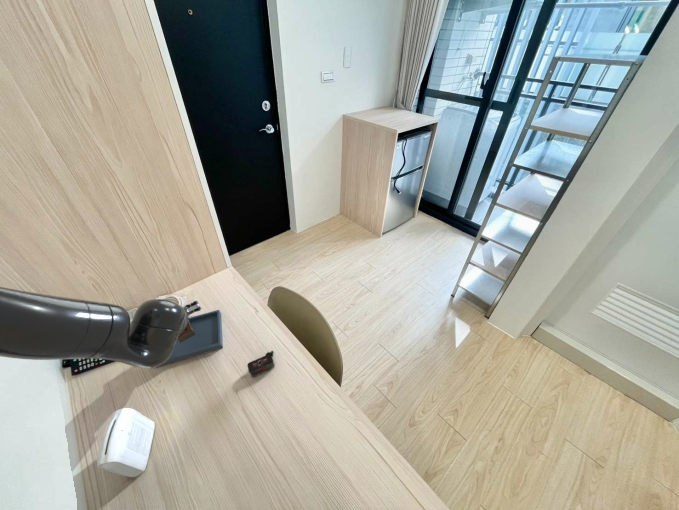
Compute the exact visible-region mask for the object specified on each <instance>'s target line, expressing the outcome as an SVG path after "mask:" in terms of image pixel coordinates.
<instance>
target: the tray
mask: <svg viewBox="0 0 679 510" xmlns="http://www.w3.org/2000/svg"><path fill="white" fill-rule="evenodd" d="M189 321H190V323H191V325H192V327H193V330H194V332H195V334H196V335H194V336H192V337H190V338H188V339H186V340H185V341H183V342H181V343H180V342H179V341H178V339H177V341H176V344H175V346H174V349H173V352H172V354H171V356H170V357H169V359H168V360H167V361H166V362H165V363H163V364H161V365H160V366H157V367H155V368H156V369H157V368H161V367H165V366H167V365H170V364H173V363H177V362H181V361H183V360H187V359H191V358H194V357H197V356H200V355H204V354H206V353H210V352H214V351H218V350H220V349H223V348H224V343H223V326H222V325H223V324H222V323H223V322H222V313H221V310H220V309H216V310H212V311H209V312H205V313H201V314H198V315H194V316H190V317H189Z"/></svg>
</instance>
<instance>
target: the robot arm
mask: <svg viewBox="0 0 679 510" xmlns="http://www.w3.org/2000/svg"><path fill="white" fill-rule="evenodd" d="M201 310H202V307H201V306H200V303H199V301H198V300H193V302H190V303H188V304H185V305H184V306H183V305H181V304H179V303H177V302H175V301H172V300H169V299H164V298H153V299H151V298H150V299H147V300H145V301H143V302H142V303H141V304H140V305H139V306H138V307H137V309H136V310H135V312H134V314H133V317H132V320H131V317H130V314H129V312H128V310H127V309H126V308H125V307H123V306H121V305H119V304H114V303H109V302H102V301H95V300H87V299H80V298H73V297H67V296H58V295H51V294H45V293H38V292H31V291H26V290H19V289H15V288H10V287H2V286H0V357H1V358H10V359H18V360H33V361H56V360H57V361H59V360H80V359H95V360H105V361H106V360H107V361H113V362H118V363H121V364H125V365H128V366H131V367H134V368H139V369H148V370H149V369H154V368H155V367H157V366H160V365H161V364H163V363H165V362H166V361H167V360H168V359H169V357H170V356H171V354H172V352H173V349H174V346H175V344H176V341H177V339H178V336H180V335H181V334H182V332H183V331H184V330H185V328H186V326H187V324H188V320H189V318H190V317H189V316H190V315H192V314H195V313H196V312H200V311H201ZM157 368H158V367H157Z"/></svg>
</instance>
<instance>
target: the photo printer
mask: <svg viewBox="0 0 679 510" xmlns="http://www.w3.org/2000/svg"><path fill="white" fill-rule="evenodd" d="M155 426H156V423H155V421H153V420H151V419H150V418H148V417H147V416H145V415H143V414H142V413H140V412H139V411H137V410H136V409H134V408H132V407H131V408H129V407H123V408H120V409H116V410H115V411H114V412H113V413H112V415H111V416H110V419H109V420H108V422H107V424H106V427H105V429H104V432H103V434H102V437H101V441H100V444H99V448H98V453H97V459H96V467H97V468H98V469H100V470H102V471H105V472H110V473H112V474H115V475H119V476H122V477H128V478H137V477H138V476H140V475H141V474H143V472H145V471H146V467H147V465H148V462H149V461H148V460H149V457H150V452H151V449H152V443H153V439H154V434H155Z"/></svg>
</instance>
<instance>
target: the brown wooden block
mask: <svg viewBox="0 0 679 510" xmlns="http://www.w3.org/2000/svg"><path fill="white" fill-rule="evenodd" d="M194 335H196V334H195V332H194V330H193V327H192V325H191V323H190V321H189V320H188V324H187V326H186V328H185V330H184V331H183V332H182V334H181V335H180V336H178V341H179V342H180V343H181V342H183V341H185V340H186V339H188V338H190V337H192V336H194Z"/></svg>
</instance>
